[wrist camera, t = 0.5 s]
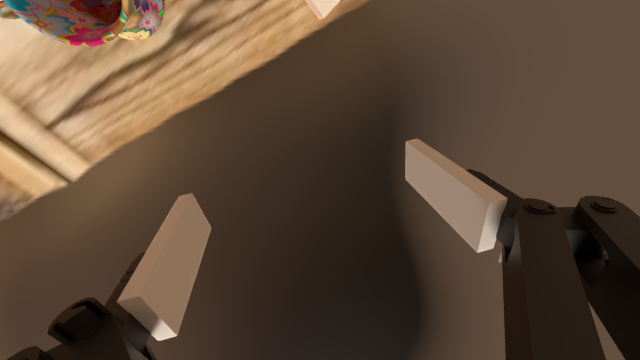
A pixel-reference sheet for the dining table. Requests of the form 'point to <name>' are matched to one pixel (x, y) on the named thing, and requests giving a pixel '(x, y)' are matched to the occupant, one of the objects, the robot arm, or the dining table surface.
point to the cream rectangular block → (322, 7)
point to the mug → (88, 18)
